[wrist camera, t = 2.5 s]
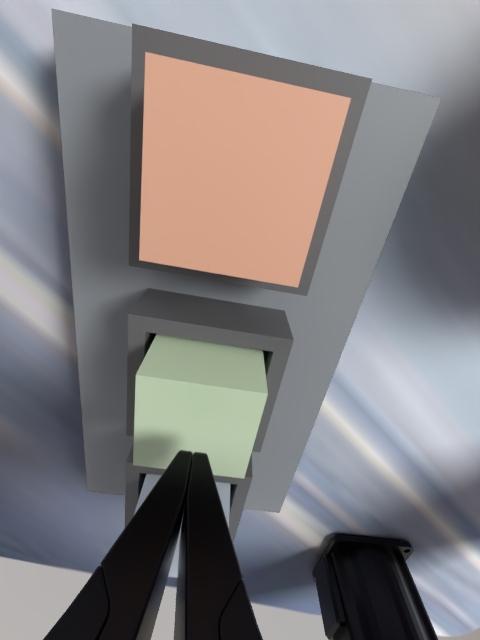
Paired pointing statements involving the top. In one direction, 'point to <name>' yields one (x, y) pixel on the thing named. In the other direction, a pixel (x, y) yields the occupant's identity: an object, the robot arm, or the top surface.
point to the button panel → (204, 287)
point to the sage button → (198, 403)
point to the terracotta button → (233, 169)
